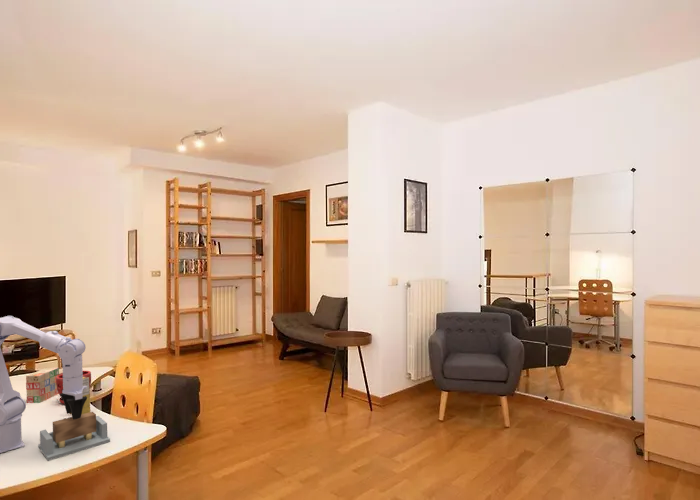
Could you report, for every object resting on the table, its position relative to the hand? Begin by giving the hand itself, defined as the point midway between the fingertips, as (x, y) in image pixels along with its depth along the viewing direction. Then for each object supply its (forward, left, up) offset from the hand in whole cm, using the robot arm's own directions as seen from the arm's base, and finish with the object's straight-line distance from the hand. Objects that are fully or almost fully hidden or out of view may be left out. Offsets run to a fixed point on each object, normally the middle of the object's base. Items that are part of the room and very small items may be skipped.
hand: (73, 415), depth 149 cm
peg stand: (0, 0, -10) cm, 10 cm away
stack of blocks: (+7, +69, -10) cm, 70 cm away
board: (0, 0, -7) cm, 7 cm away
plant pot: (+12, +51, -10) cm, 53 cm away
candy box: (+9, +31, -10) cm, 34 cm away
